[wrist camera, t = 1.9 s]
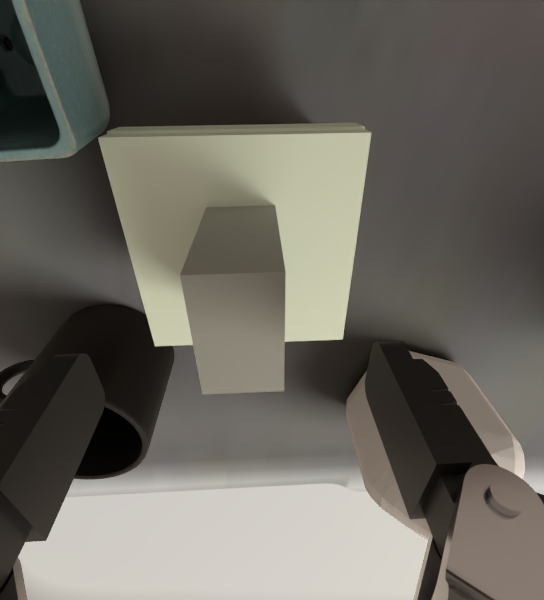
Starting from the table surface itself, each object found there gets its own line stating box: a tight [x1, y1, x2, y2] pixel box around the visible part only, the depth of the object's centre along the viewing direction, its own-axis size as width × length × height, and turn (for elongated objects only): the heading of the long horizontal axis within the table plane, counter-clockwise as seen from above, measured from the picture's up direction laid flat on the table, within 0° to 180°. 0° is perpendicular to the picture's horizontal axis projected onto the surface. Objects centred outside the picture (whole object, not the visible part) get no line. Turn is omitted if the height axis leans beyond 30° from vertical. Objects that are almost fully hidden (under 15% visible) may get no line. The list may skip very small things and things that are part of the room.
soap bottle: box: [346, 351, 525, 540], centre depth 23 cm, size 10×10×23 cm
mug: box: [0, 305, 174, 479], centre depth 25 cm, size 9×12×9 cm
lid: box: [98, 123, 371, 394], centre depth 14 cm, size 11×11×8 cm
